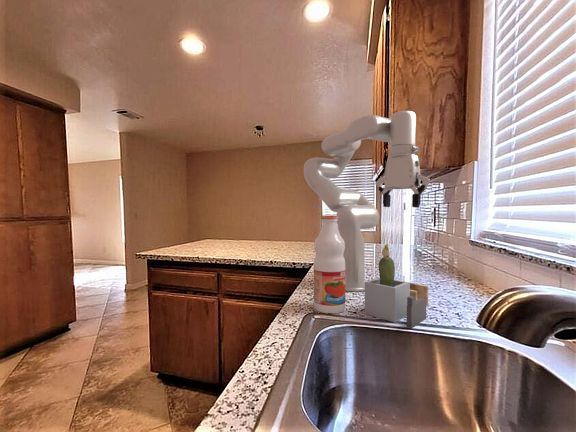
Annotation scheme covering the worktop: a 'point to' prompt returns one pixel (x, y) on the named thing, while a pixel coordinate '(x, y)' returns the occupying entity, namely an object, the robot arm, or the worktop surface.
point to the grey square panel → (415, 311)
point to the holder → (419, 291)
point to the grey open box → (386, 299)
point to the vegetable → (386, 268)
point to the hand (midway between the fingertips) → (400, 207)
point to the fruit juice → (329, 268)
